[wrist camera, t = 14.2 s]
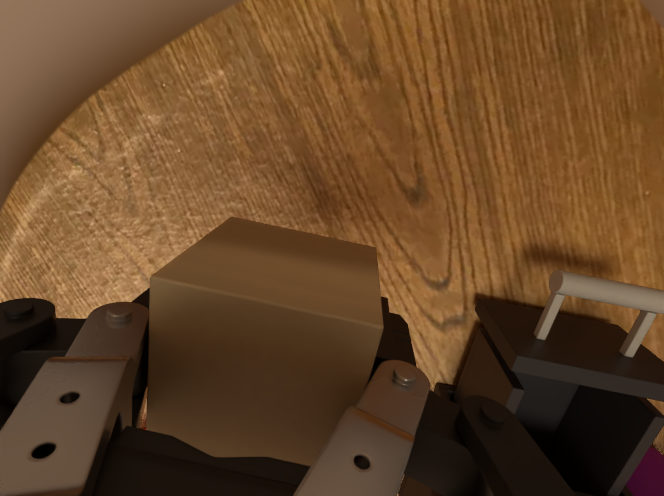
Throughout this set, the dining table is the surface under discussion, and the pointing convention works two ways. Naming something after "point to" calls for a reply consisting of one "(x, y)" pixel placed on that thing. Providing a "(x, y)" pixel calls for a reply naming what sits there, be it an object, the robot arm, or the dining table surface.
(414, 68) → the dining table surface
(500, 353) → the sliding drawer
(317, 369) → the block
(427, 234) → the dining table surface
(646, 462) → the beverage can
